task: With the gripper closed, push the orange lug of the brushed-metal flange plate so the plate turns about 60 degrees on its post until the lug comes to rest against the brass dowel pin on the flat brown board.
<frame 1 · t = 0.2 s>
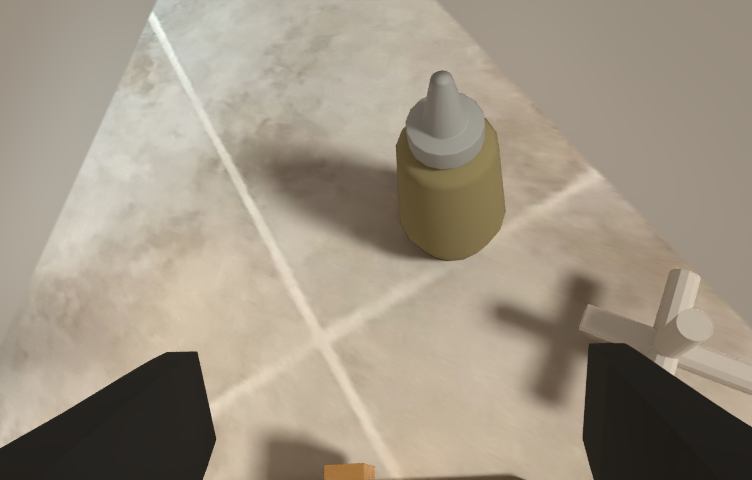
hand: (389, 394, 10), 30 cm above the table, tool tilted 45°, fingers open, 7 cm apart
squeeze bottle: (452, 230, 45), on the table
pipe connector: (641, 365, 38), on the table
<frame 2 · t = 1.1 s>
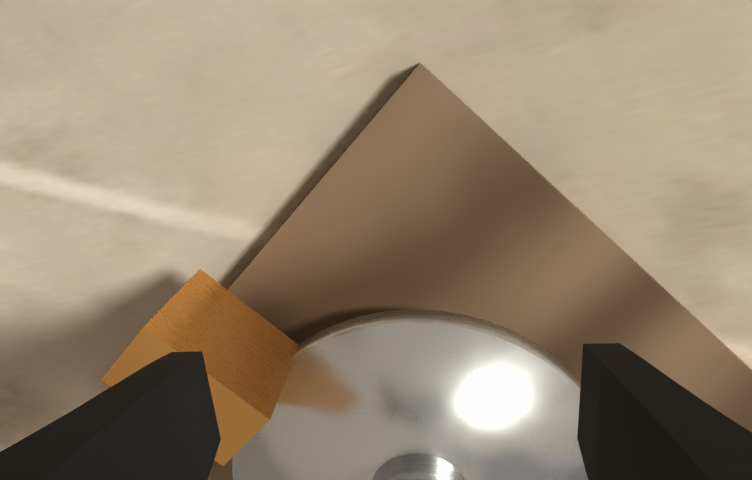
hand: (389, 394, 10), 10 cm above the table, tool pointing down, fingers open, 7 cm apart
flat brown board: (420, 431, 23), on the table
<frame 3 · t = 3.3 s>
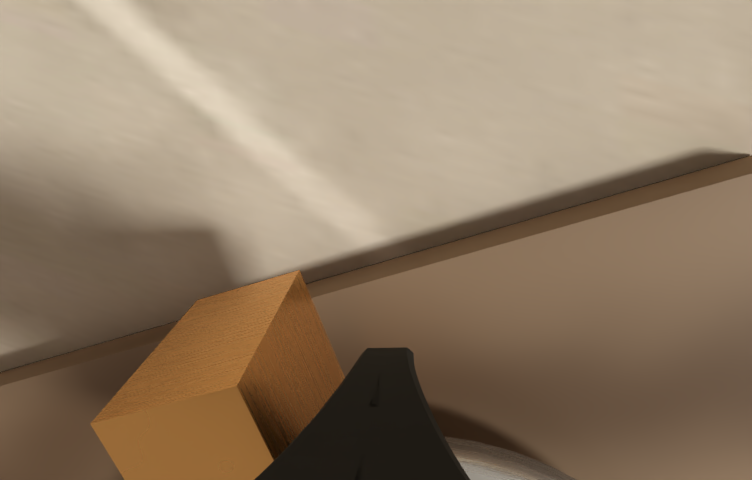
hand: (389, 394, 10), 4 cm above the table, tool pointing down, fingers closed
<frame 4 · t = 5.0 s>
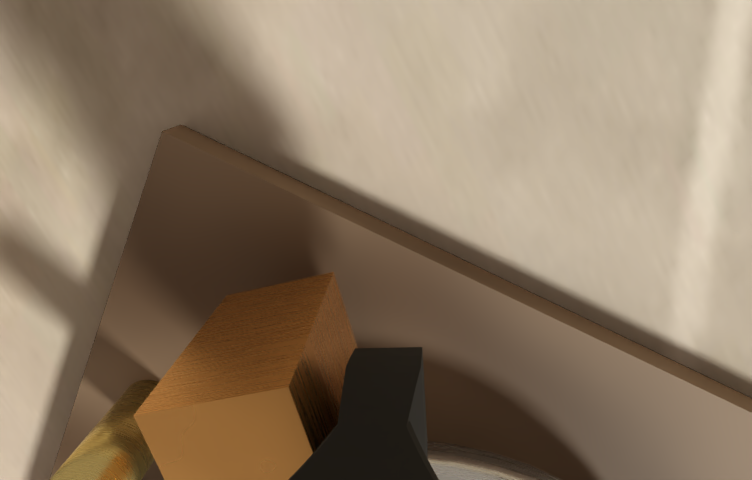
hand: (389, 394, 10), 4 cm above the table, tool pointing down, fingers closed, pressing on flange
dowel: (169, 383, 15), resting on flat brown board
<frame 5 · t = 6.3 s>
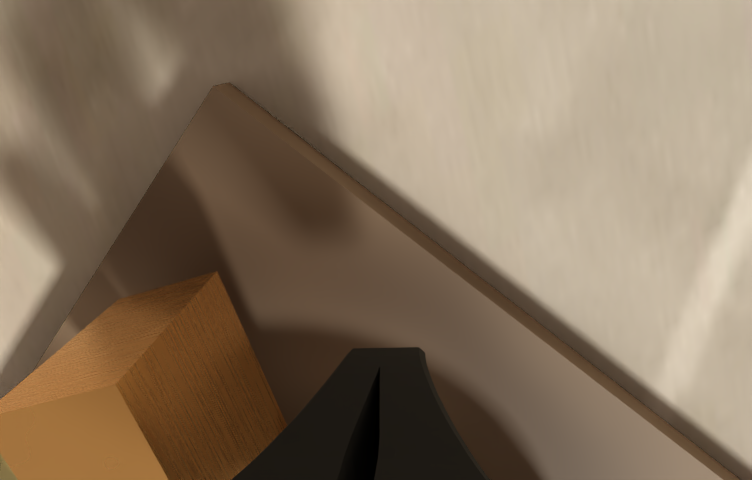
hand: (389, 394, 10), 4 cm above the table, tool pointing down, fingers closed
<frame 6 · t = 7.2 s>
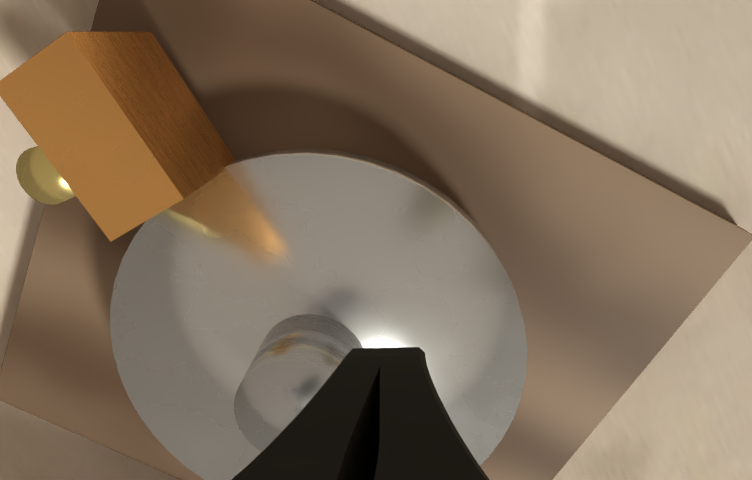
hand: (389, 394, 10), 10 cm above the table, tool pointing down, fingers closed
flat brown board: (329, 314, 21), on the table
dowel: (136, 142, 19), resting on flat brown board
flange: (270, 327, 17), point 4 cm above the table, hinge at 56.1°
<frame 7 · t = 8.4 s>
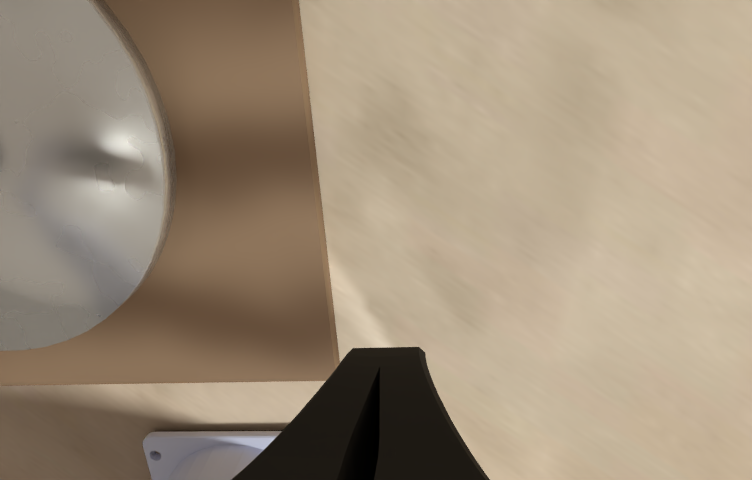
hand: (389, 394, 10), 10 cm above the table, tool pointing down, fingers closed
flat brown board: (17, 136, 20), on the table
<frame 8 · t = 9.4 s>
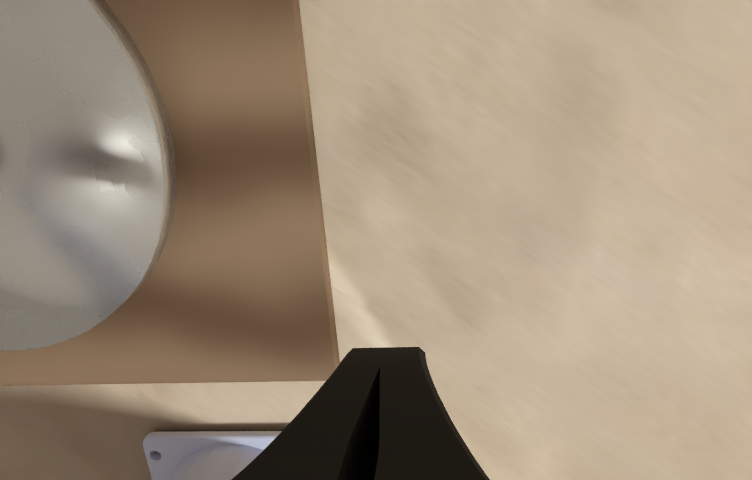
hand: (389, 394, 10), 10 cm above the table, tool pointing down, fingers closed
flat brown board: (17, 136, 20), on the table
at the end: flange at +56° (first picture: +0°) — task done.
